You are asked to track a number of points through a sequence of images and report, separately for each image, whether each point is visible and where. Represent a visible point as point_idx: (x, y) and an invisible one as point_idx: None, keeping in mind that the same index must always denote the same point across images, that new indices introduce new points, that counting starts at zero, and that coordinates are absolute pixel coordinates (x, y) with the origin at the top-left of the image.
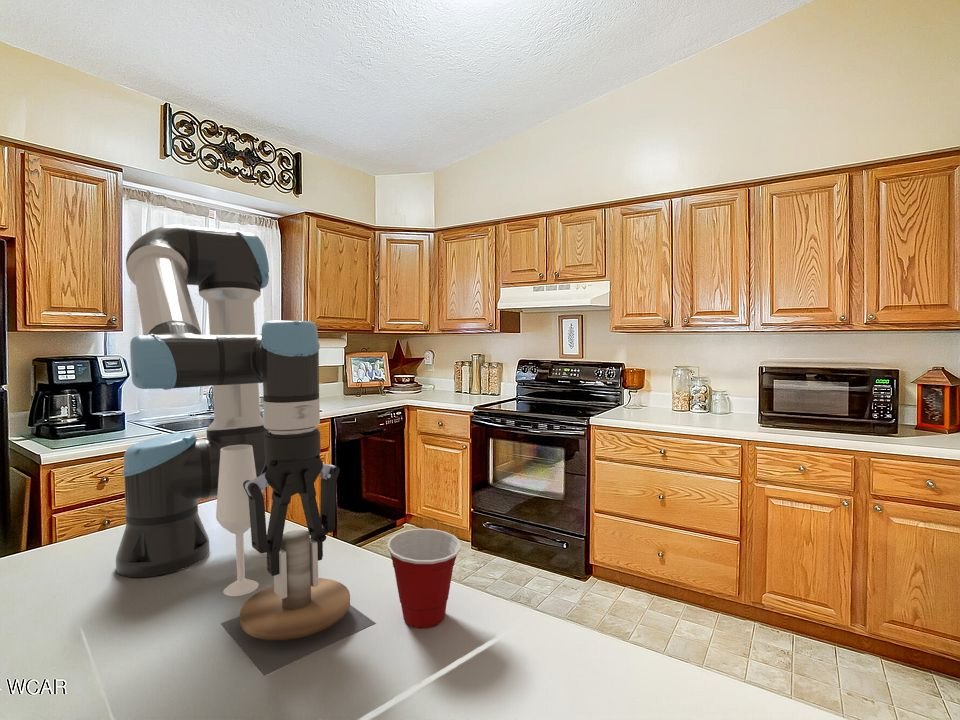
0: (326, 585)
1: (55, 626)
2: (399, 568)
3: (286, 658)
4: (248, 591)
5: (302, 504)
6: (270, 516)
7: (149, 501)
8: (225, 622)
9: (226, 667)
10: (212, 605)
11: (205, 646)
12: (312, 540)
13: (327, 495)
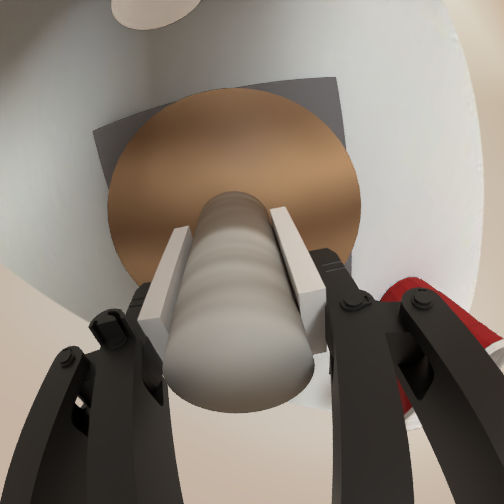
0: (327, 181)
1: None
2: (402, 394)
3: None
4: (163, 11)
5: (339, 500)
6: (91, 474)
7: None
8: (100, 131)
9: (111, 266)
10: (93, 33)
11: (76, 189)
12: (319, 330)
13: (457, 499)
